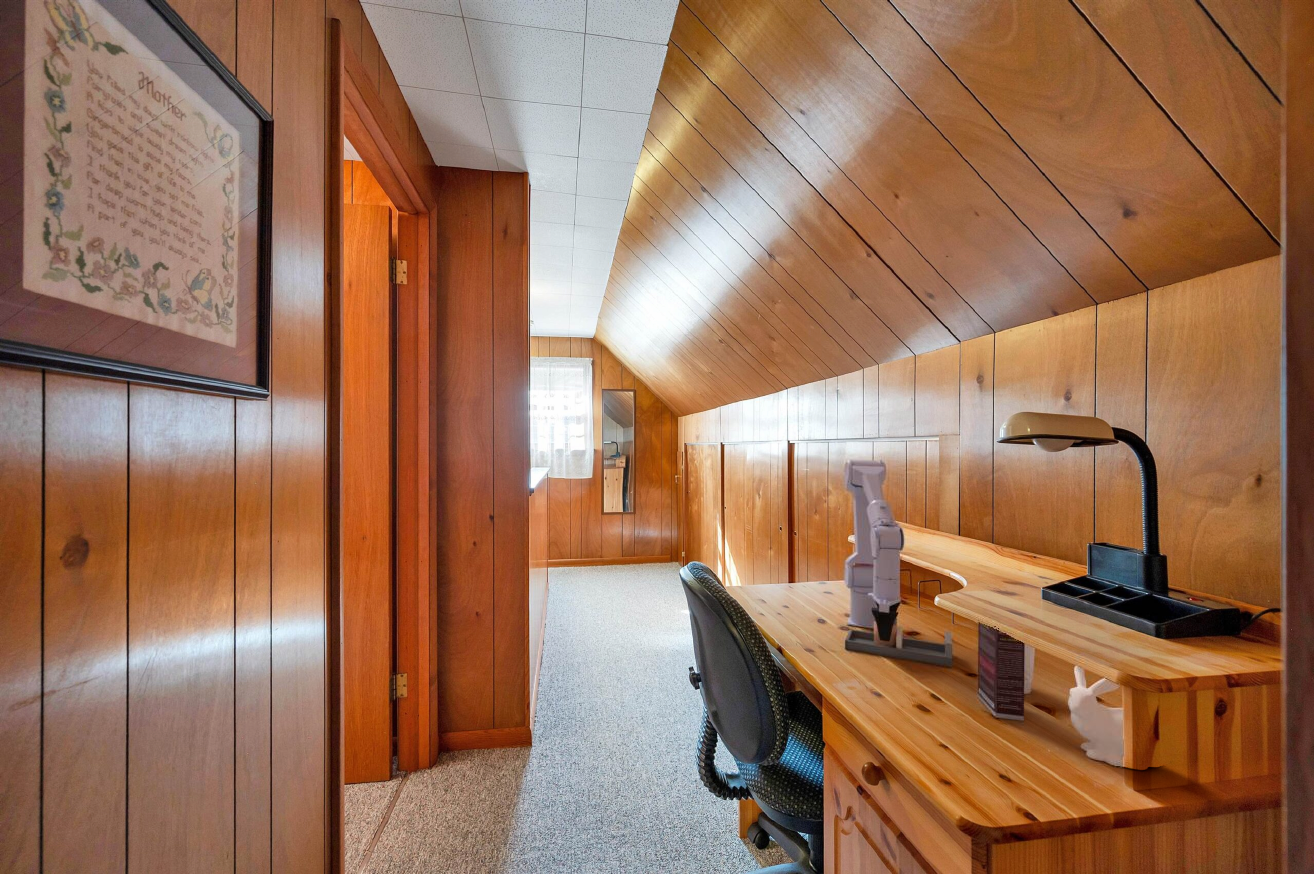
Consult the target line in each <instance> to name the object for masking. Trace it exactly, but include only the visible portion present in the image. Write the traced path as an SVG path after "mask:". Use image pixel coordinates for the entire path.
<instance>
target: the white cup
mask: <svg viewBox="0 0 1314 874" xmlns="http://www.w3.org/2000/svg"><path fill="white" fill-rule="evenodd" d="M1035 649H1036V647H1035V648H1033V647H1031V646H1029V645H1027V644H1025V661H1024V695H1028V694H1030V693H1032V690H1033V689H1032V688H1033V687H1032V686H1033V677H1034V667H1035V666H1034V665H1035Z"/></svg>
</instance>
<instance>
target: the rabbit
mask: <svg viewBox="0 0 1314 874" xmlns="http://www.w3.org/2000/svg"><path fill="white" fill-rule="evenodd" d="M1073 671H1074V672H1073V673H1074V676H1075V682H1076V686H1075V687H1072V688H1070V689H1069V697H1068V700H1067V705H1068V708H1069V710H1070V721H1071V723H1072V726H1073V728H1075V730H1076V731H1077V733H1079V735H1081V736H1082V737H1083V738H1085V739H1086V740H1089V741H1088V742H1083V743H1081V745H1080V748H1081V749H1082V750H1083V751H1085V756H1087V757H1088V758H1089V759H1092V760H1095V761H1101V762H1105V763H1107V764H1110V765H1111V766H1113V765H1114V766H1113V767H1116V766H1123V757H1124V739H1123V707H1107V706H1106V705H1104V704H1101V703H1099V702H1098V700H1097V696H1099V695H1101V694H1105V693H1107V692H1112V691H1115V690H1117V689H1118V688H1119V687H1120V684H1119V685H1117V684H1115V683H1113V682H1111V681H1109V680H1107V679H1105V678H1106V677H1104V678H1102V679H1099V680H1098V681H1096V682H1095V683H1093V684H1092V685H1090V686H1089V687H1088V688H1087V680H1086V677H1085V668H1084V669H1083V668H1080V667H1078V666H1077V665H1075V666H1074V670H1073Z"/></svg>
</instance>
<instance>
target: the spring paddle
mask: <svg viewBox="0 0 1314 874" xmlns="http://www.w3.org/2000/svg"><path fill="white" fill-rule="evenodd" d="M903 628H904V627H903V626H897V635H896V648H899V649H902V639H903V638H904V637H903Z"/></svg>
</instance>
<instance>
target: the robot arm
mask: <svg viewBox="0 0 1314 874" xmlns="http://www.w3.org/2000/svg"><path fill="white" fill-rule="evenodd" d="M886 466H887V465H886V463H885V462H884V461H883V460H882V459H879V460H877V459H876V460H872V459H849V458H848V459H847V460H846V462H845V464H844V486H845V490H846V491H848V492H850V493H851V498H852V503H853V504H852V506H853V507H852V508H853V510H852V511H853V512H852V513H853V530H854V532H853V533H854V553H853V554H851V555H849V556H848V557H846V560H845V561H844V571H843V579H844V584H845V586H846V587H847V588H848V589H850V591H849V592H850V593H849V594H850V595H849V596H850V599H849V601H850V607H849V609H850V610H849V617H848V620H847V621H846V625H848V626H853V627H854V626H855V627H860V628H866V629H873V630H874V618H875V621H876V624H877V629H878V635H879V639H880V640H882V641H888V642H889V641H890V638H891V634H892V628H893V624H894V621H895V619H896V618H898V615H899V612H898V608H899V606H901V594H900V593H901V592H900V591H901V588H900V587H901V586H900V585H901V584H900V583H901V581H900V580H901V578H900V577H901V551H903V549H904V547H905V533H904V529H903V527H902V526H901V525H900V524H899V522H896V519H895V516H894V512H893V509H892V506H891V504H890V503H889V502H887V501H885V497H884V496H885V495H884V490H883V485H884V482H885V480H886V478H887V477H886V476H887V467H886ZM858 564H861V565H858Z"/></svg>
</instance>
